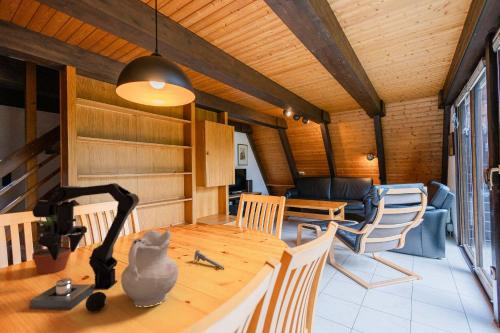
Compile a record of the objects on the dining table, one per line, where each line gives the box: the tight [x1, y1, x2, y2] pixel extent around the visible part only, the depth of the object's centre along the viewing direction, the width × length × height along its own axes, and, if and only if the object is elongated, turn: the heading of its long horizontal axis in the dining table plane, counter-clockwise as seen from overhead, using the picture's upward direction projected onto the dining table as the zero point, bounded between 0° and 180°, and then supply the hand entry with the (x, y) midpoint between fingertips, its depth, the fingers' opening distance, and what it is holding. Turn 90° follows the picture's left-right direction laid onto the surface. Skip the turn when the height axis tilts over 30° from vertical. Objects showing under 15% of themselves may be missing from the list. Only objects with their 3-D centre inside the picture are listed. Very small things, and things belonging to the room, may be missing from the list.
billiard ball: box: [85, 291, 108, 313], centre depth 83 cm, size 6×6×6 cm
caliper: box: [193, 248, 225, 268], centre depth 124 cm, size 20×1×6 cm, turn 56°
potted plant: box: [31, 215, 72, 275], centre depth 117 cm, size 15×15×30 cm
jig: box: [29, 283, 95, 311], centre depth 90 cm, size 14×12×3 cm
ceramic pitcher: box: [120, 229, 179, 308], centre depth 90 cm, size 22×20×25 cm
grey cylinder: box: [55, 277, 73, 296], centre depth 90 cm, size 4×4×7 cm
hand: (64, 255), depth 100 cm, fingers open, 9 cm apart
